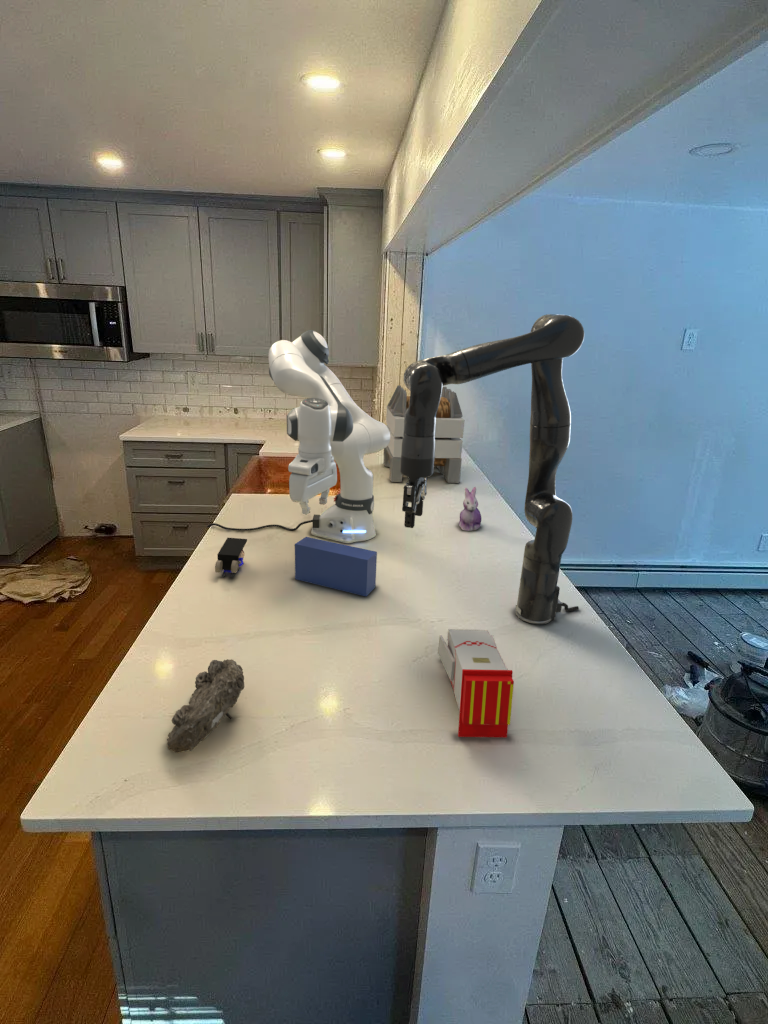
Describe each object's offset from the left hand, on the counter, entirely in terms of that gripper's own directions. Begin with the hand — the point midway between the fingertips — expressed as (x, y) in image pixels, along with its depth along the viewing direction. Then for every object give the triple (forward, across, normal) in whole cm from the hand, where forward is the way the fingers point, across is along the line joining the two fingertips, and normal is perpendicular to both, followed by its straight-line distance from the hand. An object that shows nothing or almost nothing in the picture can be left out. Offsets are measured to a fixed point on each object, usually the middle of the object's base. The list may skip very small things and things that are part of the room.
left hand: (314, 508), depth 157 cm
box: (+22, 0, +7) cm, 22 cm away
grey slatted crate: (+21, -122, -11) cm, 124 cm away
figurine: (+21, -63, +29) cm, 73 cm away
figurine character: (+22, +6, -24) cm, 33 cm away
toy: (+22, +31, +54) cm, 66 cm away
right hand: (-7, +12, +33) cm, 36 cm away
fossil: (+22, +60, +12) cm, 65 cm away
